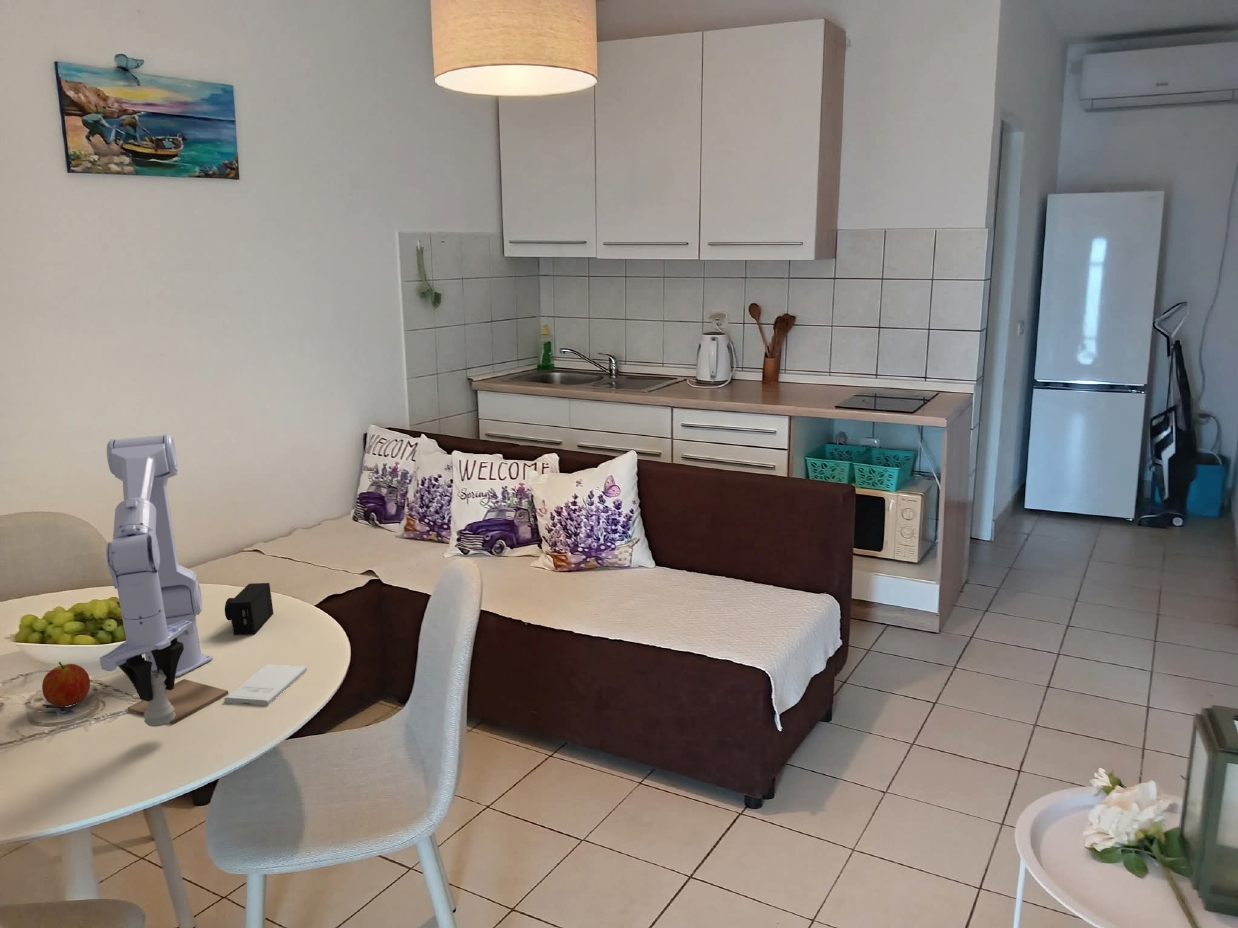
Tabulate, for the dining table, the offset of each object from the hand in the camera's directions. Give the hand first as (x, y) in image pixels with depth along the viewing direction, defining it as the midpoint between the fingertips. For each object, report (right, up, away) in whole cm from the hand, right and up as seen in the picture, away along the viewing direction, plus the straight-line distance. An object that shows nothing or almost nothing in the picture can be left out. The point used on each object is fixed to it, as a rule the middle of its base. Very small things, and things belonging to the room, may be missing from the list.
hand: (157, 693), depth 145 cm
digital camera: (-3, +3, +44) cm, 45 cm away
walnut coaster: (-3, -5, +13) cm, 14 cm away
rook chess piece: (0, -5, +1) cm, 5 cm away
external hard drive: (+10, -4, +18) cm, 21 cm away
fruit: (-22, -5, +14) cm, 26 cm away
